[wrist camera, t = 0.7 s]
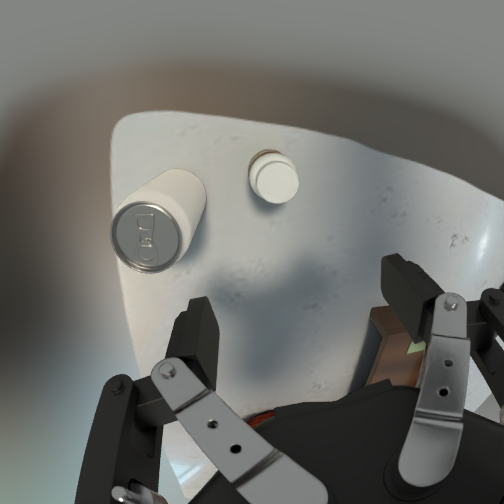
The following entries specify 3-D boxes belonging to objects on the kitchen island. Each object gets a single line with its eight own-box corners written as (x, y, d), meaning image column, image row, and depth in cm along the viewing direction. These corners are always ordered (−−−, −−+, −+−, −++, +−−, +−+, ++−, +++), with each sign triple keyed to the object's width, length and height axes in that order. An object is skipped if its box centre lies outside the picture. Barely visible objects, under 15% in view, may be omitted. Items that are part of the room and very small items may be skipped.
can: (150, 222, 31) (110, 274, 20) (150, 167, 28) (101, 194, 17) (205, 226, 31) (188, 282, 21) (208, 169, 29) (188, 197, 18)
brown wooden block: (372, 305, 37) (398, 347, 29) (434, 296, 38) (464, 330, 29) (339, 411, 50) (349, 446, 41) (389, 400, 50) (402, 431, 42)
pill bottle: (269, 140, 28) (279, 145, 21) (297, 170, 29) (315, 184, 22) (239, 168, 29) (238, 183, 22) (268, 197, 30) (276, 220, 23)
